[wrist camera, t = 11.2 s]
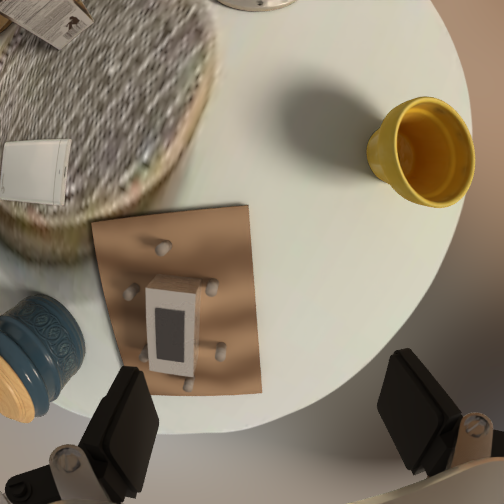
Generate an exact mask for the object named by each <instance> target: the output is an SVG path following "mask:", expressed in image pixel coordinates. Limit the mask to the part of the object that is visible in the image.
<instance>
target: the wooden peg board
mask: <svg viewBox="0 0 504 504" xmlns="http://www.w3.org/2000/svg"><path fill="white" fill-rule="evenodd" d="M91 224H92V231H93V238H94V245H95V251H96V256H97V262H98V267H99V272H100V277H101V282H102V287H103V291H104V296H105V300H106V304H107V308H108V312H109V316H110V320H111V324H112V327H113V331H114V334H115V338H116V341H117V345H118V348H119V351H120V354H121V358H122V361H123V364H124V366H133V367H138V369H139V371H143V373H144V376H145V379H146V382H147V386H148V389H149V392H150V395H167V396H218V395H241V394H256V393H262V384H261V370H260V357H259V343H258V330H257V316H256V303H255V289H254V276H253V262H252V248H251V235H250V221H249V208H248V205H245V206H232V207H220V208H209V209H198V210H188V211H178V212H169V213H160V214H151V215H142V216H134V217H126V218H118V219H111V220H103V221H96V222H92V223H91ZM157 274H163V275H172V276H180V277H189V278H199V279H202V285H201V303H200V324H199V353H198V359H197V364H196V368H195V372H194V377H188V376H180V375H174V374H167V373H161V372H155V371H150V370H149V358H148V343H147V324H146V287H147V286H148V284H149V283H150V282H151V281H152V280H153V279H154V278H155V276H156V275H157Z"/></svg>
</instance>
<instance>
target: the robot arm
mask: <svg viewBox="0 0 504 504" xmlns="http://www.w3.org/2000/svg"><path fill="white" fill-rule="evenodd" d="M217 1H219V2H221V3H222V4H224V5H227V6H229V7H232V8H236V9H240V10H246V11H270V10H276V9H280V8H283V7H286V6H288V5H290V4H292V3H294V2H295V1H297V0H217ZM377 409H378V412H379V414H380V416H381V418H382V419H383V422H384V423H385V426H386V428H387V429H388V432H389V433H390V436H391V438H392V439H393V442H394V443H395V446H396V448H397V450H398V452H399V454H400V456H401V458H402V460H403V462H404V464H405V466H406V468H407V469H408V470H411V471H412V473H413V475H416V474H419V473H421V472H424V471H426V473H427V478H426V479H424V480H422V481H419V482H416V483H414V484H411V485H408V486H405V487H402V488H400V489H397V490H394V491H391V492H388V493H384V494H382V495H378V496H374V497H371V498H367V499H364V500H360V501H355V502H351V503H347V504H504V432H502V431H498V430H493V424H492V422H491V420H490V419H489V418H488V417H487V416H485V415H484V414H481V413H469V414H467V415H465V416H464V417H463V416H462V415H461V411H460V410H459V409H458V407H457V406H456V405H455V403H454V402H453V401H452V399H451V398H450V397H449V396H448V394H447V393H446V392H445V391H444V389H443V388H442V387H441V386H440V384H439V383H438V382H437V381H436V380H435V378H434V377H433V376H432V374H431V373H430V372H429V371H428V370H427V368H426V367H425V366H424V365H423V363H422V362H421V361H420V360H419V359H418V358H417V356H416V355H415V354H414V353H413V352H412V350H411V349H409V348H405V349H401V350H396V351H395V352H394V354H393V355H391V356H390V359H389V364H388V368H387V371H386V375H385V379H384V382H383V386H382V389H381V393H380V396H379V399H378V403H377ZM158 427H159V418H158V415H157V412H156V410H155V407H154V404H153V401H152V398H151V395H150V392H149V389H148V386H147V382H146V379H145V376H144V373H143V371H139V369H138V367H133V366H122V367H121V369H120V371H119V373H118V374H117V376H116V378H115V380H114V382H113V384H112V385H111V387H110V389H109V391H108V393H107V395H106V396H105V397H103V398H102V400H101V401H100V403H99V405H98V407H97V409H96V411H95V413H94V415H93V417H92V419H91V421H90V423H89V425H88V427H87V429H86V431H85V433H84V435H83V437H82V439H81V441H80V443H79V445H78V446H75V445H69V444H66V445H62V446H59V447H57V448H56V449H55V450H54V451H53V452H52V453H51V455H50V458H49V465H46V466H43V467H40V468H37V469H35V470H32V471H28V472H25V473H22V474H19V475H16V476H13V477H11V478H10V479H9V480H8V482H7V483H6V487H5V493H2V492H1V491H0V504H123V501H124V499H125V497H130V498H136V494H137V492H141V491H142V487H143V483H144V479H145V475H146V472H147V468H148V464H149V460H150V456H151V453H152V449H153V445H154V442H155V438H156V434H157V431H158Z"/></svg>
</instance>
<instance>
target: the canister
mask: <svg viewBox="0 0 504 504" xmlns="http://www.w3.org/2000/svg"><path fill="white" fill-rule="evenodd" d="M84 357H85V342H84V338H83V335H82V332H81V330H80V328H79V326H78V324H77V322H76V321H75V319H74V318H73V316H72V315H71V314H70V312H69V311H68V310H67V309H66V308H65V307H64V306H63V305H62V304H60V303H59V302H58V301H56V300H55V299H53V298H51V297H48V296H45V295H34V296H30V297H27V298H25V299H24V300H22V301H20V302H19V303H18V304H17V305H16V306H15V307H13V308H12V309H10V310H9V311H7V312H6V313H4V314H3V315H0V413H1V414H2V415H4V416H6V417H8V418H10V419H14V420H16V421H19V422H22V423H29V422H31V421H32V420H33V419H34V417H41V416H44V415H45V414H46V413H47V412H48V409H49V402H52V401H54V400H56V399H57V398H58V396H59V394H60V392H61V390H62V389H63V387H64V386H65V385H66V384H67V382H68V381H69V380H70V378H71V377H72V376H73V375H75V374H76V373H77V371H78V370H79V369H80V367H81V365H82V362H83V360H84Z"/></svg>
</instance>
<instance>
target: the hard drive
mask: <svg viewBox="0 0 504 504" xmlns="http://www.w3.org/2000/svg"><path fill="white" fill-rule="evenodd" d="M70 146H71V139H43V140H24V141H12V142H6V143H5V145H4V152H3V159H2V169H1V180H0V200H10V201H21V202H30V203H40V204H49V205H60V206H62V205H64V200H65V187H66V177H67V168H68V160H69V152H70Z"/></svg>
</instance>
